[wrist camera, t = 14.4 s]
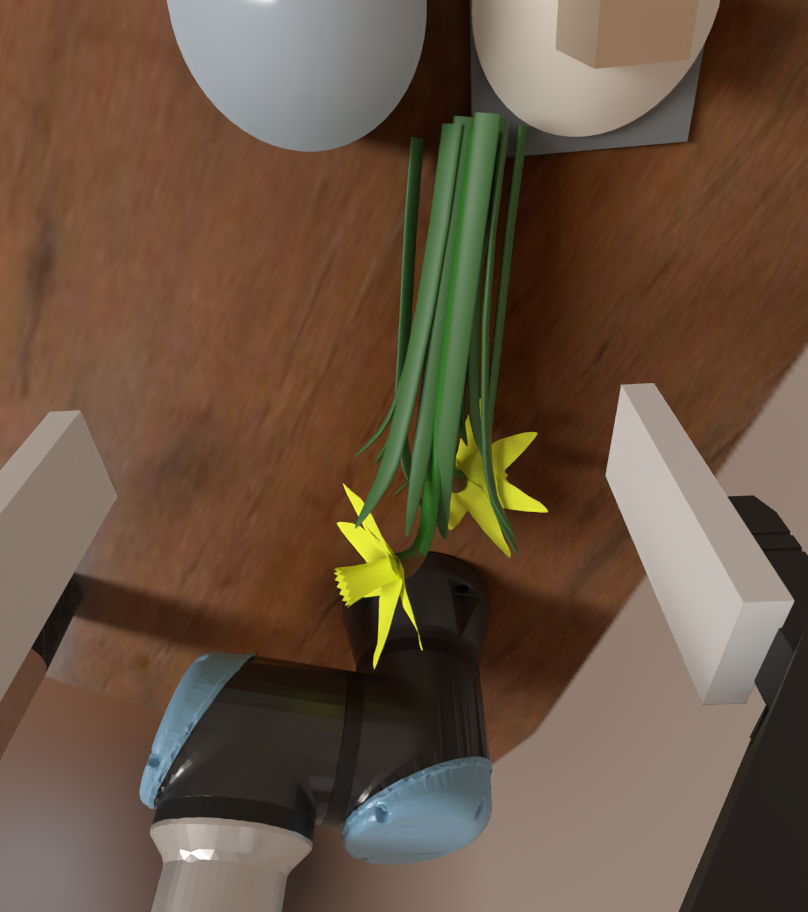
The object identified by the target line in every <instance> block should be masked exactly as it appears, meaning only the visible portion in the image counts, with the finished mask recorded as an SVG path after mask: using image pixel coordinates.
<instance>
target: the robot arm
mask: <svg viewBox="0 0 808 912" xmlns="http://www.w3.org/2000/svg"><path fill="white" fill-rule="evenodd" d="M606 478H607V480H608V483H609V485H610V487H611V490H612V492H613V494H614V497H615V499H616V501H617V504H618V506H619V509H620V511H621V513H622V516H623V518H624V520H625V523H626V525H627V528H628V530H629V532H630V535H631V537H632V539H633V542H634V544H635V547H636V549H637V551H638V554H639V556H640V558H641V561H642V563H643V565H644V568H645V570H646V573H647V575H648V577H649V580H650V582H651V584H652V587H653V589H654V592H655V594H656V596H657V599H658V601H659V603H660V605H661V608H662V610H663V613H664V615H665V617H666V620H667V622H668V625H669V627H670V629H671V632H672V634H673V637H674V639H675V641H676V644H677V646H678V648H679V651H680V653H681V656H682V658H683V660H684V663H685V665H686V667H687V670H688V672H689V674H690V677H691V679H692V681H693V684H694V686H695V689H696V691H697V693H698V696H699V698H700V701H701V703H702V705H717V704H746V702H747V700H748V698H749V696H750V694H751V692H752V689H753V687H754V685H755V684H756V686H757V688H758V690H759V692H760V694H761V696H762V698H763V700H764V702H765V703H766V706H765V709H764V710H763V712H762V714H761V716H760V718H759V720H758V722H757V724H756V726H755V728H754V730H753V732H752V734H751V736H750V738H751V740H750V743H749V745H748V747H747V750H746V752H745V755H744V757H743V760H742V762H741V764H740V767H739V769H738V771H737V774H736V776H735V779H734V781H733V783H732V786H731V788H730V791H729V793H728V796H727V798H726V800H725V802H724V805H723V807H722V810H721V812H720V815H719V817H718V819H717V821H716V824H715V826H714V829H713V831H712V833H711V836H710V838H709V841H708V843H707V845H706V848H705V850H704V853H703V855H702V857H701V860H700V862H699V864H698V867H697V869H696V872H695V874H694V876H693V879H692V881H691V884H690V886H689V888H688V891H687V893H686V896H685V898H684V900H683V903H682V905H681V908H680V910H679V912H808V555H807V554H806V553H805V552H802V547H801V546H800V544H799V543H798V542H797V540H796V539H795V537H794V536H793V535H790V530H789V529H788V528H787V526H786V525H785V524H784V522H783V521H782V519H781V518H780V517H779V515H778V514H777V512H775V511H774V510H773V509H771V508H770V507H769V506H767V505H766V504H764V503H763V502H761V501H760V500H759V499H758V498H756V497H755V496H729V497H727V495H726V494H725V492H724V491H723V489H722V488H721V486H720V485H719V483H718V482H717V480H716V478H715V477H714V475H713V474H712V472H711V471H710V469H709V468H708V466H707V465H706V463H705V461H704V460H703V458H702V457H701V455H700V454H699V452H698V451H697V449H696V448H695V446H694V444H693V443H692V441H691V440H690V438H689V437H688V435H687V434H686V432H685V431H684V429H683V427H682V426H681V424H680V423H679V421H678V420H677V418H676V417H675V415H674V414H673V412H672V410H671V409H670V407H669V406H668V404H667V403H666V401H665V400H664V398H663V397H662V395H661V393H660V392H659V390H658V389H657V387H656V386H655V384H654V383H648V384H627V385H621V390H620V396H619V401H618V407H617V413H616V419H615V424H614V430H613V436H612V442H611V447H610V453H609V459H608V464H607V470H606ZM116 498H117V495H116V493H115V490H114V488H113V486H112V483H111V481H110V479H109V476H108V474H107V471H106V469H105V467H104V464H103V462H102V460H101V457H100V455H99V453H98V450H97V448H96V446H95V443H94V441H93V439H92V436H91V434H90V432H89V429H88V427H87V425H86V422H85V420H84V418H83V415H82V413H81V411H61V412H49V414H48V415H47V416H46V417H45V418H44V419H43V421H42V422H41V423H40V424H39V425H38V427H37V428H36V429H35V430H34V431H33V432H32V434H31V435H30V436H29V437H28V438H27V440H26V441H25V442H24V443H23V444H22V445H21V447H20V448H19V449H18V450H17V451H16V453H15V454H14V455H13V456H12V457H11V458H10V460H9V461H8V462H7V463H6V464H5V465H4V467H3V468H2V469H1V470H0V701H1V700H2V698H3V696H4V694H5V693H6V691H7V689H8V687H9V686H10V684H11V682H12V680H13V679H14V677H15V675H16V673H17V672H18V670H19V668H20V666H21V665H22V663H23V661H24V659H25V658H26V656H27V654H28V652H29V651H30V649H31V647H32V645H33V644H34V642H35V640H36V638H37V637H38V635H39V633H40V631H41V630H42V628H43V626H44V624H45V623H46V621H47V619H48V617H49V615H50V614H51V612H52V610H53V608H54V607H55V605H56V603H57V601H58V600H59V598H60V596H61V594H62V593H63V591H64V589H65V587H66V586H67V584H68V582H69V580H70V579H71V577H72V575H73V573H74V572H75V570H76V568H77V566H78V565H79V563H80V561H81V559H82V558H83V556H84V554H85V552H86V551H87V549H88V547H89V545H90V544H91V542H92V540H93V538H94V537H95V535H96V533H97V531H98V530H99V528H100V526H101V524H102V523H103V521H104V519H105V517H106V516H107V514H108V512H109V510H110V509H111V507H112V505H113V503H114V501H115V500H116ZM398 554H399V553H398ZM398 554H396V556H398ZM404 580H405V586H406V592H407V596H408V599H409V602H410V605H411V609H412V612H413V615H414V619H415V622H416V626H417V629H418V632H419V636H420V642H421V645H422V650H421V648H420V644H419V637H418V632H417V630H416V628H415V626H414V624H413V623H412V621H411V619H410V618H409V616H408V614H407V613H406V611H405V609H404V608H403V604H402V600H401V596H400V594H399V597H398V601H397V604H396V607H395V610H394V614H393V618H392V621H391V625H390V629H389V632H388V635H387V638H386V641H385V644H384V646H383V649H382V651H381V654H380V656H379V659H378V662H377V665H376V667H375V669H374V666H373V659H374V653H375V650H376V647H377V643H378V627H379V598H380V595H379V596H372V597H362V598H360V599H359V600H358V601H356V602H355V603H353V604H352V605H350V604H349V605H350V606H349V605H346V603H347V601H344V605H343V621H344V625H345V629H346V632H347V636H348V639H349V642H350V646H351V649H352V653H353V656H354V660H355V663H356V672H353V671H346V670H341V669H335V668H328V667H322V666H315V665H310V664H304V663H298V662H292V661H286V660H280V659H274V658H268V657H262V656H258V655H257V654H256V653H250V654H247V655H244V654H234V653H225V652H209V653H206V654H204V655H202V656H200V657H199V658H198V659H196V660H195V661H194V662H193V664H192V665H191V666H190V667H189V668H188V670H187V671H186V673H185V674H184V676H183V678H182V679H181V681H180V683H179V685H178V687H177V689H176V691H175V693H174V695H173V697H172V699H171V701H170V703H169V705H168V708H167V710H166V712H165V714H164V717H163V719H162V722H161V724H160V727H159V729H158V732H157V734H156V737H155V740H154V743H153V746H152V754H151V755H150V757H149V760H148V763H147V765H146V767H145V770H144V774H143V777H142V781H141V788H140V798H141V800H142V802H143V803H144V804H146V805H147V806H148V807H149V808H151V809H154V808H157V809H156V813H155V816H154V819H153V823H152V826H151V830H150V835H151V837H152V839H153V840H154V842H155V844H156V846H157V848H158V850H159V852H160V853H161V855H162V859H163V864H164V866H163V869H162V874H161V877H160V881H159V885H158V888H157V893H156V896H155V900H154V904H153V908H152V911H151V912H282V905H283V898H284V892H285V885H286V878H287V876H288V874H289V872H290V871H291V870H292V869H293V868H294V867H295V866H296V865H297V864H298V863H299V862H300V861H301V860H302V859H303V858H304V857H305V856H306V855H307V854H308V853H309V852H310V851H311V849H312V842H313V834H314V827H315V825H326V826H333V827H340V828H342V830H341V837H342V840H343V841H344V847H345V849H346V851H347V852H348V853H349V854H350V855H351V856H353V857H354V858H362V859H363V860H364V861H365V862H368V863H375V864H388V865H389V864H408V863H416V862H421V861H426V860H431V859H435V858H438V857H442V856H444V855H447V854H450V853H452V852H455V851H457V850H459V849H461V848H463V847H465V846H467V845H468V844H470V843H471V842H473V841H474V840H475V839H476V838H477V837H478V836H480V835H481V833H482V832H483V831H484V830H485V828H486V826H487V825H488V822H489V820H490V817H491V812H492V801H491V780H490V777H491V773H492V766H491V762H490V760H489V751H488V742H487V734H486V725H485V716H484V707H483V698H482V690H481V682H480V672H479V662H480V658H481V654H482V650H483V647H484V643H485V639H486V635H487V631H488V627H489V623H490V616H491V609H490V601H489V594H488V589H487V587H486V584H485V582H484V581H483V579H482V578H481V577H480V575H479V574H478V573H477V572H476V571H475V570H473V569H472V568H471V567H469V566H468V565H466V564H465V563H463V562H461V561H459V560H457V559H454V558H451V557H448V556H445V555H441V554H436V553H429V552H428V553H427V556H426V558H425V560H424V562H423V563H422V565H421V566H420V568H419V569H418V570H417V571H416V572H415V573H414V574H413V575H412V577H409V578H404ZM345 605H346V606H345ZM348 606H349V607H348ZM347 607H348V608H347Z"/></svg>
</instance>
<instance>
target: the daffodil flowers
mask: <svg viewBox="0 0 808 912" xmlns="http://www.w3.org/2000/svg"><path fill="white" fill-rule="evenodd" d="M500 122H501V126H500ZM509 122H510V121H509V120H507V119H502V120H501V115H500V114H492V113H478V112H475V116H474V118H473V117H464V116H454V119H453V124H442V131H441V139H440V147H439V154H438V162H437V170H436V178H435V186H434V193H433V201H432V209H431V217H430V224H429V230H428V236H427V242H426V248H425V254H424V261H423V267H422V273H421V279H420V285H419V292H418V298H417V304H416V309H415V314H414V319H413V324H412V329H411V319H412V303H413V286H414V268H415V251H416V234H417V219H418V207H419V195H420V182H421V170H422V158H423V146H424V139H422V138H416V137H411V138H410V152H409V165H408V179H407V192H406V206H405V219H404V237H403V256H402V276H401V296H400V314H399V333H398V351H397V369H396V383H395V396H394V399H393V402H392V405H391V408H390V410H389V412H388V414H387V416H386V418H385V420H384V421H383V423H382V425H381V426H380V428H379V429H378V431H377V432H376V433H375V434H374V435H373V436H372V438H371V439H370V440H369V441H368V442H367V443H366V444H365V446H364V447H363V448H362V449H361V450H360V451H359V452H358V453H357V454H356V456H358V455H359V454H360V453H361V452H363V451H364V450H365V449H366V448H367V447H369V446H370V445H371V444H372V443H373V442H374V441H375V440H376V439H377V438H378V437H379V436H380V435H381V434H382V433H383V431H384V430H385V428H386V427H387V425H388V424H389V422H390V420H391V419H392V417H393V420H392V424H391V428H390V433H389V436H388V439H387V441H386V444H385V445H384V447H383V449H382V451H381V452H380V454H379V456H378V457H377V459H376V461H375V463H374V464H376V463H377V462H379V461H380V460H381V459H382V458H383V459H382V462H381V465H380V468H379V470H378V473H377V476H376V479H375V481H374V484H373V486H372V488H371V490H370V493H369V495H368V497H367V499H366V502H365V504H364V503H363V501H362V500H361V498H359V497H358V496H357V495H355V494H354V493H353V492H352V491H350V490H349V489H348V488H347V487H346V486H345V485H344V484H343V485H344V488H345V490H346V493H347V495H348V497H349V499H350V501H351V503H352V505H353V507H354V509H355V510H356V512H357V514H358V516H359V517H358V520H357V522H356V525H355V524H352V523H346V522H338V523H337V525H338V526H339V528H340V529H341V531H342V532H343V534H344V535H345V536H346V537H347V539H348V540H349V541H350V542H351V544H352V545H353V546H354V547H355V548H356V550H357V551H358V552H359V553H360V554H361V556H362V557H363V558H364V559H365V560H366V562H367V564H361V565H356V566H349V567H339V568H337V569H334V570H337V572H335V573H334V574H336V575H338V577H337V578H336V579H335V580H336V581H338V582H340V583H339V584H338V586H337V587H338V588H340V589H342V590H341V592H340V594H339V595H343V596H344V598H343V601H347V603H346V605H349V604H350V605H352V604H353V603H355V602H356V601H358V600H359V599H360V598H362V597H372V596H379V595H380V598H379V627H378V643H377V647H376V650H375V653H374V659H373V666H374V669H375V667H376V665H377V662H378V659H379V656H380V654H381V651H382V649H383V646H384V644H385V641H386V638H387V635H388V632H389V629H390V625H391V621H392V618H393V614H394V610H395V607H396V604H397V601H398V597H399V594H400V596H401V600H402V604H403V608H404V609H405V611H406V613H407V614H408V616H409V618H410V619H411V621H412V623H413V624H414V626H415V628H416V630H417V632H418V629H417V626H416V622H415V619H414V615H413V612H412V609H411V605H410V602H409V599H408V596H407V592H406V586H405V580H404V578H409V577H412V575H413V574H414V573H415V572H416V571H417V570H418V569H419V568H420V566H421V565H422V563H423V562H424V560H425V558H426V556H427V553H428V551H429V549H430V546H431V544H432V540H433V536H434V532H435V526H436V523H437V526H438V528H439V530H440V533H441V535H442V536H443V538H444V539H446V537H447V533H448V527H449V529H450V530H452V529H454V528H455V526H456V525H457V524H458V523H459V522H460V521H461V520H462V518H463V516H464V515H465V513H466V512H467V510H468V511H469V512H470V514H471V515H472V516H473V518H474V519H475V520H476V522H477V523H478V524H479V525H480V527H481V528H482V529H483V531H484V532H485V533H486V534H487V535H488V536H489V537H490V538H491V540H492V541H493V542H494V543H495V544H496V545H497V546H498V547H499V548H500V549H501V550H502V551H503V552H504V553H505V554H506V555H507V556H508V557H509V558H510V555H511V554H510V550H509V547H508V546H507V544H506V542H505V541H504V538H503V535H502V532H501V529H500V526H501V528H502V531H503V532H504V534H505V536H506V537H507V539H508V541H509V542H510V544H511V546H512V548H513V549H514V551H515V553H516V554H517V556H518V557H519V554H518V551H517V548H516V545H515V543H514V540H513V538H512V536H511V534H512V535H513V537H514V538H515V540H516V541H517V538H516V536H515V533H514V531H513V529H512V527H511V525H510V523H509V521H508V519H507V517H506V514H505V512H504V510H503V508H506V509H512V510H520V511H529V512H548V510H547V509H546V507H545V506H543V505H542V504H541V503H540V502H539V501H537V500H535V499H533V498H531V497H529V496H528V495H526V494H525V493H523V492H522V491H520V490H519V489H518V488H516V487H515V486H513V485H511V484H509V483H508V481H507V479H506V477H507V476H508V474H506V473H505V470H506V468H507V467H508V466H509V465H510V464H512V463H513V462H514V461H515V459H516V458H517V457H518V456H519V455H520V454H521V453H522V452H523V451H524V450H525V449H526V448H527V447H528V445H529V444H530V443H531V442H532V441H533V440H534V438H535V437H536V435H537V432H526V433H521V434H517V435H513V436H510V437H506V438H503V439H500V440H498V441H496V442H494V443H492V425H493V415H494V407H495V400H496V393H497V384H498V375H499V366H500V357H501V349H502V340H503V331H504V322H505V313H506V304H507V295H508V286H509V276H510V267H511V258H512V249H513V239H514V230H515V222H516V215H517V208H518V201H519V193H520V186H521V179H522V171H523V164H524V157H525V150H526V142H527V135H528V128H529V127H527V126H524V125H518V131H517V138H516V146H515V153H514V161H513V169H512V176H511V184H510V192H509V199H508V207H507V214H506V222H505V230H504V240H503V250H502V260H501V269H500V279H499V289H498V299H497V309H496V318H495V327H494V337H493V346H492V355H491V364H490V374H489V333H490V312H491V298H492V284H493V271H494V257H495V244H496V232H497V224H498V215H499V207H500V199H501V191H502V183H503V175H504V167H505V159H506V151H507V142H508V128H509ZM499 129H500V132H499ZM498 136H499V138H498ZM497 143H498V144H497ZM486 249H487V255H486V269H485V284H484V299H483V314H482V355H481V398H480V400H479V345H480V317H481V288H482V274H483V265H484V259H485V254H486ZM424 358H425V359H424ZM423 363H424V367H423ZM422 367H423V375H422V384H421V392H420V400H419V408H418V416H417V423H416V431H415V438H414V445H413V453H412V461H411V455H410V448H409V442H408V434H407V433H408V429H409V425H410V421H411V417H412V413H413V409H414V405H415V400H416V396H417V391H418V386H419V382H420V377H421V372H422ZM467 375H468V409H469V415H468V417H467V420H466V422H465V389H466V382H467ZM393 415H394V416H393ZM458 436H460V437H461V439H460V444H459V449H458V452H457V455H456V449H457V443H458ZM356 456H355V457H356ZM355 457H354V458H355ZM400 460H401V464H402V469H403V471H404V474H405V476H406V479H407V482H406V483H405V484H403V485H402V486H401V487H400V488H399V489H398V490H397V491H396V493H395V494H394V495H396V494H397V493H398V492H399V491H401V490H402V489H403V488H404V487H406V486H407V485H408V484H409V491H408V500H407V513H406V536H408V535H409V533H410V530H411V528H412V525H413V522H414V519H415V515H416V512H417V509H418V506H419V507H420V509H421V517H420V525H419V529H418V533H417V536H416V539H415V541H414V544H413V545H412V546H411V547H410V548H409V549H407V550H405V551H403V552H401V553H399V554H398V556H396V554H395V553H394V552H393V550H392V549H391V548H390V546H389V545H388V544H387V543H386V541H385V540H384V539H383V538H382V536H381V534H380V531H379V529H378V527H377V525H376V523H375V521H374V519H373V517H372V515H371V513H370V512H371V511H372V510H373V509H374V507H375V506H376V505H377V503H378V502H379V500H380V499H381V497H382V496H383V494H384V493H385V491H386V490H387V488H388V487H389V485H390V483H391V480H392V478H393V476H394V474H395V472H396V470H397V468H398V466H399V462H400ZM424 482H425V485H424ZM423 486H424V493H423V501H422V498H421V494H422V490H423ZM394 495H393V496H394ZM393 496H392V497H393ZM494 512H495V513H494ZM495 515H496V516H495ZM496 517H497V518H496ZM497 519H498V521H497ZM498 522H499V523H498ZM361 523H362V524H363V526H364V528H365V530H366V531H365V530H364V529H363V528H361V527H360V526H359V525H360V524H361ZM499 524H500V526H499ZM517 542H518V541H517ZM346 605H345V606H346ZM350 605H349V606H350ZM349 606H348V607H349ZM348 607H347V608H348ZM418 637H419V644H420V648H421V650H422V645H421V642H420V636H419V632H418Z"/></svg>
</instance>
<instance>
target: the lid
mask: <svg viewBox="0 0 808 912" xmlns="http://www.w3.org/2000/svg"><path fill="white" fill-rule="evenodd" d="M719 3H720V0H471V26H472V34H473V39H474V45H475V49H476V53H477V56H478V59H479V62H480V65H481V67H482V70H483V72H484V74H485V76H486V79H487V80H488V82H489V84H490V85H491V87H492V88H493V90H494V92H495V93H496V95H497V96H498V97H499V98H500V99H501V101H502V102H503V103H504V104H505V106H506V107H507V108H508V109H509V110H511V111H512V112H513V113H514V114H515V115H516V116H517V117H518V118H520V119H521V120H523V121H524V122H526V123H527V124H529V125H531V126H533V127H535V128H537V129H539V130H542V131H544V132H548V133H551V134H555V135H561V136H568V137H584V136H591V135H597V134H602V133H605V132H608V131H612V130H615V129H617V128H619V127H622V126H624V125H626V124H628V123H630V122H632V121H634V120H635V119H637V118H639V117H640V116H642V115H644V114H645V113H646V112H648V111H649V110H650V109H652V108H653V107H654V106H656V105H657V104H658V103H659V102H660V101H661V100H662V99H663V98H664V97H666V96H667V95H668V94H669V93H670V92H671V91H672V90H673V88H674V87H675V86H676V85H677V84H678V83H679V82H680V80H681V79H682V78H683V77H684V75H685V74H686V72H687V71H688V70H689V68H690V67H691V65H692V64H693V63H694V61H695V59H696V58H697V56H698V54H699V52H700V51H701V49H702V47H703V45H704V43H705V41H706V39H707V37H708V34H709V32H710V30H711V28H712V25H713V22H714V19H715V16H716V13H717V11H718V8H719Z"/></svg>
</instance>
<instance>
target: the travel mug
mask: <svg viewBox="0 0 808 912" xmlns="http://www.w3.org/2000/svg"><path fill="white" fill-rule="evenodd" d="M80 599H81V590H80V588H79V586H78V585H77V583H76V582H75V581H74V580H73V579H72V578H71V579H70V580H69V582H68V584H67V586H66V587H65V589H64V591H63V593H62V594H61V596H60V598H59V600H58V601H57V603H56V605H55V607H54V608H53V610H52V612H51V614H50V615H49V617H48V619H47V621H46V623H45V624H44V626H43V628H42V630H41V631H40V633H39V635H38V637H37V638H36V640H35V642H34V644H33V645H32V647H31V649H30V651H29V652H28V654H27V656H26V658H25V659H24V661H23V663H22V665H21V666H20V668H19V670H18V672H17V673H16V675H15V677H14V679H13V680H12V682H11V684H10V686H9V687H8V689H7V691H6V693H5V694H4V696H3V698H2V700H1V701H0V759H1V757H2V755H3V753H4V751H5V749H6V748H7V745H8V743H9V742H10V740H11V738H12V736H13V734H14V732H15V731H16V729H17V727H18V725H19V723H20V721H21V719H22V717H23V715H24V714H25V712H26V710H27V708H28V706H29V704H30V702H31V700H32V698H33V697H34V695H35V692H36V691H37V689H38V687H39V685H40V683H41V681H42V680H43V678H44V676H45V674H46V672H47V670H48V668H49V666H50V664H51V662H52V659H53V657H54V655H55V653H56V651H57V649H58V647H59V645H60V643H61V641H62V638H63V636H64V634H65V632H66V630H67V628H68V626H69V624H70V622H71V620H72V617H73V615H74V613H75V611H76V609H77V607H78V605H79V602H80Z"/></svg>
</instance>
